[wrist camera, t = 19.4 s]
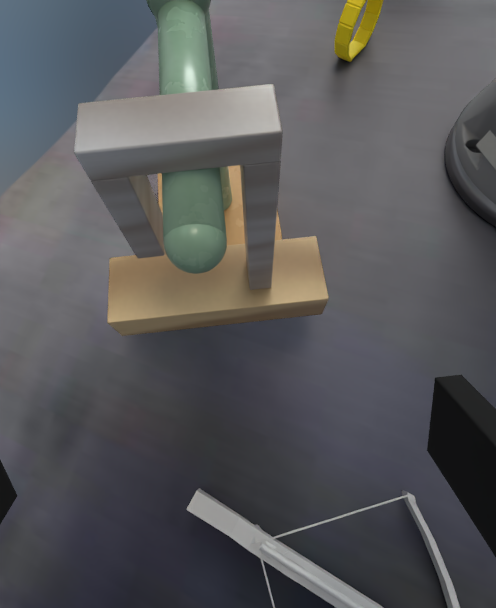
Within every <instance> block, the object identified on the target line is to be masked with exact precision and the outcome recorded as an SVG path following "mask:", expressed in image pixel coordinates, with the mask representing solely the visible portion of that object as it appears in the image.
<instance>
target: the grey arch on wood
mask: <svg viewBox="0 0 496 608" xmlns="http://www.w3.org/2000/svg"><path fill="white" fill-rule="evenodd" d="M282 134H283V131H282V126H281V120H280V115H279V110H278V104H277V99H276V93H275V88H274V85H273V84H268V85H258V86H247V87H237V88H227V89H217V90H207V91H197V92H187V93H177V94H167V95H157V96H147V97H137V98H127V99H117V100H107V101H97V102H88V103H80V104H78V114H77V125H76V137H75V148H74V154H75V155H76V157H77V159H78V160H79V162H80V164H81V165H82V167H83V169H84V170H85V172H86V174H87V175H88V177H89V178H90V180H91V182H92V184H93V185H94V187H95V189H96V190H97V192H98V194H99V195H100V197H101V199H102V200H103V202H104V204H105V205H106V207H107V208H108V210H109V212H110V213H111V215H112V217H113V218H114V220H115V222H116V223H117V225H118V227H119V228H120V230H121V231H122V233H123V235H124V236H125V238H126V240H127V241H128V243H129V245H130V246H131V248H132V250H133V251H134V253H135V255H133V256H124V257H114V258H110V265H109V293H108V324H109V325H111V326H112V327H113V328H114V329H115V330H116V331H117V332H118V333H120V334H121V335H122V336H126V335H135V334H144V333H153V332H163V331H172V330H181V329H190V328H199V327H208V326H218V325H227V324H236V323H245V322H254V321H263V320H273V319H282V318H291V317H300V316H309V315H318V314H322V313H323V311H324V308H325V306H326V304H327V301H328V299H329V297H328V292H327V287H326V282H325V277H324V272H323V268H322V263H321V258H320V253H319V248H318V243H317V238H316V236H313V237H303V238H294V239H284V240H275V231H276V218H277V204H278V191H279V177H280V163H281V161H280V159H281V148H282ZM237 165H240V171H241V187H242V202H243V218H244V234H245V244H237V245H228V246H227V248H226V252H225V255H224V257H223V259H222V260H221V262H220V263H219V264H218V265H217V266H216V267H215V268H213V269H212V270H210V271H208V272H204V273H199V274H193V273H187V272H184V271H182V270H180V269H178V268H177V267H176V266H175V265H174V264H172V263H171V261H170V260H169V258H168V257H167V255H166V252H165V249H164V243H163V215H162V212H161V210H160V207H159V205H158V202H157V200H156V197H155V195H154V192H153V190H152V187H151V185H150V182H149V180H148V177H147V175H149V174H159V173H169V172H178V171H188V170H198V169H208V168H217V167H227V166H237Z"/></svg>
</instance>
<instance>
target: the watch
mask: <svg viewBox="0 0 496 608" xmlns="http://www.w3.org/2000/svg"><path fill="white" fill-rule="evenodd" d="M365 2H366V0H348V1H347V4H346V5H345V7H344V10H343V13H342V15H341V18H340V20H339V22H340V23H338V28H337V32H336V36H335V54H336V55H337V56H338V57H339V58H342V59H344V60H346V61H349V62H350V61H352V59H353V58H354V57H355V56H356V55H357V54H358V53H359V52H360V51H361V50H362V49H363V48H364V47H365V46H366V44H367V42H368V40H369V39H370V37H371V35H372V32H373V30H374V28H375V25H376V23H377V20H378V18H379V14H380V11H381V7H382V4H383V0H368V2H367V6H366V11H365V13H364V16H363V19H362V21H361V24H360V27H359V29H358V31H357V33H356V35H355V37H354V38H353V40H352V42H351V43H350V40H351V37H352V33H353V29H354V26H355V24H356V21H357V19H358V16H359V14H360V11H361V9H362V7H363V6H364V4H365Z"/></svg>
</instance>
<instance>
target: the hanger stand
mask: <svg viewBox="0 0 496 608" xmlns="http://www.w3.org/2000/svg"><path fill="white" fill-rule="evenodd" d="M210 1H211V0H147V3H148V6H149V8H150V10H151V12H152V13H153V15H154V16H155V18H156V22H157V26H158V48H159V87H160V95H167V94H177V93H187V92H197V91H207V90H217V89H219V87H218V79H217V71H216V63H215V55H214V47H213V38H212V30H211V22H210V14H209V6H210ZM158 205H159V207H160V210H161V212H162V215H163V243H164V249H165V252H166V255H167V257H168V258H169V260H170V261H171V263H172V264H174V265H175V266H176V267H177V268H178V269H180V270H182V271H184V272H187V273H193V274H199V273H204V272H208V271H210V270H212V269H213V268H215V267H216V266H217V265H218V264H219V263H220V262H221V260H222V259H223V257H224V255H225V252H226V248H227V246H228V245H237V244H245V234H244V218H243V202H242V187H241V171H240V165H237V166H227V167H217V168H208V169H198V170H188V171H178V172H169V173H159V174H158ZM275 240H282V235H281V229H280V223H279V216H278V210H277V218H276V231H275Z"/></svg>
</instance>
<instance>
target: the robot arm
mask: <svg viewBox="0 0 496 608" xmlns="http://www.w3.org/2000/svg"><path fill="white" fill-rule="evenodd" d="M445 160H446V166H447V171H448V174H449V177H450V179H451V181H452V183H453V185H454V187H455V188H456V190H457V192H458V193H459V195H460V196H461V197H462V199H463V200H464V201H465V202H466V203H467V204H468V205H469V206H470V207H471V208H472V209H473V210H474V211H475V212H476V213H477V214H478V215H479V216H481V217H482V218H483V219H485V220H486V221H487V222H489V223H490V224H492V225H493V226H495V227H496V78H495V79H494V80H493V81H492V82H491V83H490V84H489V85H488V86H487V87H485V88H484V89H483V90H482V91H481V92H480V93H479V94H478V95H477V96H476V97H475V98H474V99H473V100H472V101H471V102H469V104H468V105H467V106H466V107H465V108H464V110H463V111H462V113H461V114H460V116H459V118H458V119H457V121H456V123H455V125H454V126H453V128H452V130H451V132H450V134H449V136H448V139H447V143H446V148H445ZM427 451H428V452H429V454H430V455H431V457H432V459H433V460H434V462H435V463H436V465H437V466H438V468H439V469H440V471H441V473H442V474H443V476H444V477H445V479H446V480H447V482H448V483H449V485H450V487H451V488H452V490H453V491H454V493H455V494H456V496H457V497H458V499H459V501H460V502H461V504H462V505H463V507H464V508H465V510H466V511H467V513H468V515H469V516H470V518H471V519H472V521H473V522H474V524H475V526H476V527H477V529H478V530H479V532H480V533H481V535H482V536H483V538H484V540H485V541H486V543H487V544H488V546H489V547H490V549H491V550H492V552H493V554H494V555H495V557H496V409H495V408H494V407H493V406H492V405H491V404H490V403H489V402H488V401H487V400H486V399H485V398H484V397H483V396H482V395H481V394H480V393H479V392H478V391H477V390H476V389H475V388H474V387H473V386H472V385H471V384H470V383H469V382H468V381H467V380H466V379H465V378H464V377H463V376H462V375H455V376H446V377H437V378H435V384H434V393H433V402H432V411H431V421H430V430H429V439H428V448H427ZM16 497H17V494H16V492H15V490H14V488H13V486H12V484H11V481H10V479H9V477H8V475H7V473H6V471H5V469H4V467H3V465H2V462H1V460H0V524H1V522H2V520H3V519H4V517H5V515H6V514H7V512H8V510H9V509H10V507H11V505H12V504H13V502H14V500H15V499H16Z"/></svg>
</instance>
